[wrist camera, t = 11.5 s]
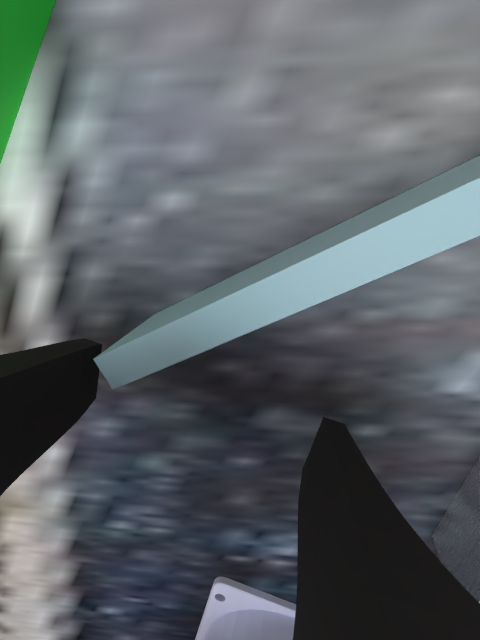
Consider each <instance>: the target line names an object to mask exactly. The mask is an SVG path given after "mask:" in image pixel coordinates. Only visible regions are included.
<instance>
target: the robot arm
mask: <svg viewBox="0 0 480 640" xmlns="http://www.w3.org/2000/svg"><path fill="white" fill-rule="evenodd" d="M101 348H102V344H100V343H97V342H94V341H91V340H88V339H77V340H71V341H66V342H61V343H56V344H51V345H47V346H42V347H37V348H33V349H28V350H24V351H19V352H14V353H9V354H3V355H0V496H1V495H2V494H3V492H4V491H5V490H6V489H7V488H8V487H9V486H10V485H11V484H12V483H13V482H14V481H15V480H16V479H17V478H18V477H19V476H20V475H21V474H22V473H23V472H24V471H25V470H26V469H27V468H28V467H30V466H31V465H32V464H33V463H34V462H35V461H36V460H37V459H38V458H39V457H40V456H41V455H42V454H43V453H44V452H46V451H47V450H48V449H49V448H50V447H51V446H52V445H53V444H54V443H55V442H56V441H57V440H58V439H59V438H60V437H62V436H63V435H64V434H65V433H66V432H67V431H68V430H69V429H70V428H71V427H72V426H73V425H74V424H75V423H76V422H77V421H78V420H79V418H80V417H81V416H82V415H83V414H84V413H85V411H86V410H87V409H88V407H89V406H90V405H91V404H92V402H93V401H94V400H95V399H96V394H97V385H98V376H99V368H98V366H97V364H96V363H95V361H94V360H93V359H94V358H95V357H97V356H98V355H99V354H101ZM195 640H480V603H479V602H478V601H477V600H476V599H475V598H474V597H473V596H472V595H471V594H470V593H469V592H468V591H467V590H466V589H465V588H464V587H463V586H462V585H461V583H460V582H459V581H458V580H457V579H456V578H455V577H454V576H453V575H452V574H451V573H450V572H449V570H448V569H447V568H446V567H445V566H444V565H443V564H442V563H441V562H440V561H439V560H438V558H437V557H436V556H435V555H434V554H433V553H432V552H431V550H430V549H429V548H428V547H427V546H426V544H425V543H424V542H423V541H422V540H421V538H420V537H419V536H418V535H417V533H416V532H415V531H414V530H413V528H412V527H411V526H410V525H409V524H408V522H407V521H406V520H405V518H404V517H403V516H402V514H401V513H400V512H399V510H398V509H397V508H396V506H395V505H394V503H393V502H392V500H391V499H390V498H389V496H388V495H387V493H386V492H385V490H384V489H383V487H382V486H381V484H380V483H379V481H378V480H377V478H376V477H375V475H374V474H373V472H372V470H371V469H370V467H369V466H368V464H367V462H366V461H365V459H364V457H363V456H362V454H361V452H360V450H359V449H358V447H357V445H356V444H355V442H354V440H353V438H352V437H351V435H350V433H349V431H348V430H347V428H346V426H345V425H344V423H340V422H337V421H334V420H331V419H328V418H325V417H323V420H322V422H321V425H320V427H319V430H318V432H317V435H316V437H315V440H314V442H313V445H312V447H311V450H310V452H309V455H308V457H307V460H306V462H305V465H304V467H303V471H302V478H301V485H300V493H299V501H298V583H297V603H296V604H293V603H291V602H288V601H286V600H283V599H280V598H278V597H275V596H273V595H270V594H267V593H265V592H262V591H260V590H257V589H254V588H252V587H249V586H247V585H244V584H241V583H239V582H236V581H234V580H231V579H229V578H226V577H217V578H216V579H215V580H214V583H213V586H212V589H211V592H210V595H209V598H208V601H207V604H206V607H205V610H204V614H203V617H202V620H201V623H200V626H199V629H198V632H197V635H196V638H195Z"/></svg>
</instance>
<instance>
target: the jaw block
mask: <svg viewBox="0 0 480 640" xmlns="http://www.w3.org/2000/svg"><path fill="white" fill-rule="evenodd" d="M432 538H433V541H434V544H435V547H436V550H437V553H438V556H439V559H440V562H441V563H442V564H443V565H444V566H445V567H446V568H447V569H448V570H449V572H450V573H451V574H452V575H453V576H454V577H455V578H456V579H457V580H458V581H459V582H460V583H461V585H462V586H463V587H464V588H465V589H466V590H467V591H468V592H469V593H470V594H471V595H472V596H473V597H474V598H475V599H476V600H477V601H478V602H479V603H480V456H479V458H478V460H477V461H476V463H475V465H474V466H473V468H472V470H471V471H470V473H469V475H468V476H467V478H466V479H465V481H464V483H463V484H462V486H461V488H460V489H459V491H458V493H457V494H456V496H455V498H454V499H453V501H452V502H451V504H450V506H449V507H448V509H447V511H446V512H445V514H444V516H443V517H442V519H441V521H440V522H439V524H438V525H437V527H436V529H435V530H434V532H433V534H432Z"/></svg>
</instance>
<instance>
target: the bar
mask: <svg viewBox="0 0 480 640" xmlns="http://www.w3.org/2000/svg"><path fill="white" fill-rule="evenodd" d="M477 236H480V155H479V156H477V157H475V158H473V159H471V160H469V161H467V162H465V163H463V164H461V165H459V166H457V167H455V168H453V169H450V170H448V171H446V172H444V173H442V174H440V175H438V176H436V177H434V178H432V179H430V180H428V181H426V182H424V183H422V184H420V185H418V186H416V187H414V188H412V189H409V190H407V191H405V192H403V193H401V194H399V195H397V196H395V197H393V198H391V199H389V200H387V201H385V202H383V203H381V204H379V205H377V206H375V207H373V208H371V209H368V210H366V211H364V212H362V213H360V214H358V215H356V216H354V217H352V218H350V219H348V220H346V221H344V222H342V223H340V224H338V225H336V226H334V227H332V228H330V229H328V230H325V231H323V232H321V233H319V234H317V235H315V236H313V237H311V238H309V239H307V240H305V241H303V242H301V243H299V244H297V245H295V246H293V247H291V248H289V249H287V250H284V251H282V252H280V253H278V254H276V255H274V256H272V257H270V258H268V259H266V260H264V261H262V262H260V263H258V264H256V265H254V266H252V267H250V268H248V269H246V270H243V271H241V272H239V273H237V274H235V275H233V276H231V277H229V278H227V279H225V280H223V281H221V282H219V283H217V284H215V285H213V286H211V287H209V288H207V289H205V290H203V291H200V292H198V293H196V294H194V295H192V296H190V297H188V298H186V299H184V300H182V301H180V302H178V303H176V304H174V305H172V306H170V307H168V308H166V309H164V310H162V311H159V312H157V313H156V314H154V315H153V316H151V317H150V318H149V319H147V320H146V321H145V322H143V323H142V324H140V325H139V326H138V327H136V328H135V329H134V330H132V331H131V332H130V333H128V334H127V335H125V336H124V337H123V338H121V339H120V340H119V341H117V342H116V343H114V344H113V345H112V346H110V347H109V348H108V349H106V350H105V351H104V352H102V353H101V354H99V355H98V356H97V357H95V358H94V359H93V360H94V361H95V363H96V364H97V366H98V368H99V369H100V371H101V372H102V374H103V375H104V377H105V379H106V380H107V382H108V383H109V385H110V386H111V388H112V390H114V389H116V388H119V387H121V386H123V385H126V384H128V383H131V382H133V381H135V380H138V379H140V378H142V377H145V376H147V375H150V374H152V373H154V372H157V371H159V370H161V369H164V368H166V367H169V366H171V365H173V364H176V363H178V362H180V361H183V360H185V359H188V358H190V357H192V356H195V355H197V354H199V353H202V352H204V351H207V350H209V349H211V348H214V347H216V346H218V345H221V344H223V343H226V342H228V341H230V340H233V339H235V338H237V337H240V336H242V335H245V334H247V333H249V332H252V331H254V330H256V329H259V328H261V327H264V326H266V325H268V324H271V323H273V322H275V321H278V320H280V319H283V318H285V317H287V316H290V315H292V314H294V313H297V312H299V311H302V310H304V309H306V308H309V307H311V306H313V305H316V304H318V303H321V302H323V301H325V300H328V299H330V298H332V297H335V296H337V295H340V294H342V293H344V292H347V291H349V290H351V289H354V288H356V287H358V286H361V285H363V284H366V283H368V282H370V281H373V280H375V279H377V278H380V277H382V276H385V275H387V274H389V273H392V272H394V271H396V270H399V269H401V268H404V267H406V266H408V265H411V264H413V263H415V262H418V261H420V260H423V259H425V258H427V257H430V256H432V255H434V254H437V253H439V252H442V251H444V250H446V249H449V248H451V247H453V246H456V245H458V244H461V243H463V242H465V241H468V240H470V239H472V238H475V237H477Z"/></svg>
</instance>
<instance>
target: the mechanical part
mask: <svg viewBox="0 0 480 640" xmlns="http://www.w3.org/2000/svg"><path fill="white" fill-rule="evenodd" d="M55 1H56V0H0V163H1V160H2V157H3V154H4V151H5V148H6V145H7V143H8V140H9V137H10V134H11V131H12V128H13V125H14V122H15V119H16V116H17V113H18V110H19V107H20V104H21V101H22V98H23V95H24V93H25V90H26V87H27V84H28V81H29V78H30V75H31V72H32V69H33V66H34V63H35V60H36V57H37V54H38V51H39V48H40V45H41V42H42V40H43V37H44V34H45V31H46V28H47V25H48V22H49V19H50V16H51V13H52V10H53V7H54V4H55Z"/></svg>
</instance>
